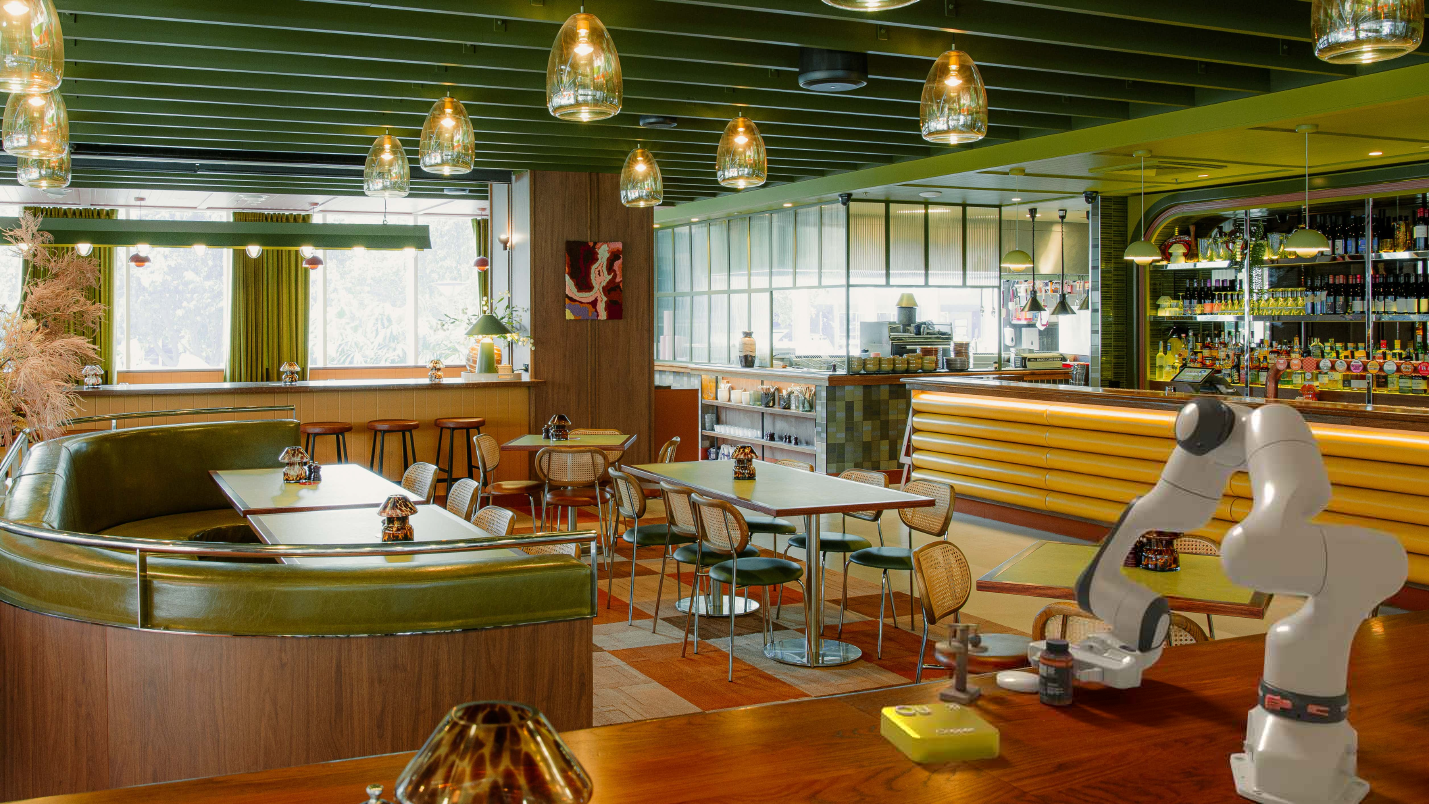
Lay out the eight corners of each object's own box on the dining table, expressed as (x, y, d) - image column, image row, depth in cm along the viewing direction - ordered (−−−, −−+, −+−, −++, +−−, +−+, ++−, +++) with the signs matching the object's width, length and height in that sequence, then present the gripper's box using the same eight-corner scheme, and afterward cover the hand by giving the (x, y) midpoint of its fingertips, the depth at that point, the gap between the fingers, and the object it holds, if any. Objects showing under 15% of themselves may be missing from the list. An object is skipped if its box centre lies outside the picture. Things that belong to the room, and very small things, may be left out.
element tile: (916, 767, 167) (917, 736, 166) (876, 732, 181) (877, 703, 181) (1003, 760, 171) (1005, 730, 170) (957, 726, 185) (958, 698, 185)
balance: (955, 713, 190) (959, 629, 189) (928, 707, 193) (932, 624, 192) (990, 686, 206) (993, 608, 205) (964, 680, 209) (968, 604, 208)
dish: (1037, 695, 201) (1038, 689, 201) (990, 685, 206) (990, 679, 206) (1051, 683, 209) (1051, 677, 209) (1004, 674, 214) (1005, 668, 214)
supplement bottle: (1068, 697, 201) (1071, 637, 200) (1075, 708, 195) (1078, 646, 194) (1034, 695, 201) (1038, 635, 201) (1041, 706, 196) (1044, 644, 195)
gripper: (1053, 628, 214) (1009, 638, 206) (1150, 654, 198) (1106, 666, 190) (1052, 660, 215) (1008, 671, 206) (1148, 688, 198) (1104, 702, 190)
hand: (1056, 669), depth 198 cm, fingers open, 8 cm apart
